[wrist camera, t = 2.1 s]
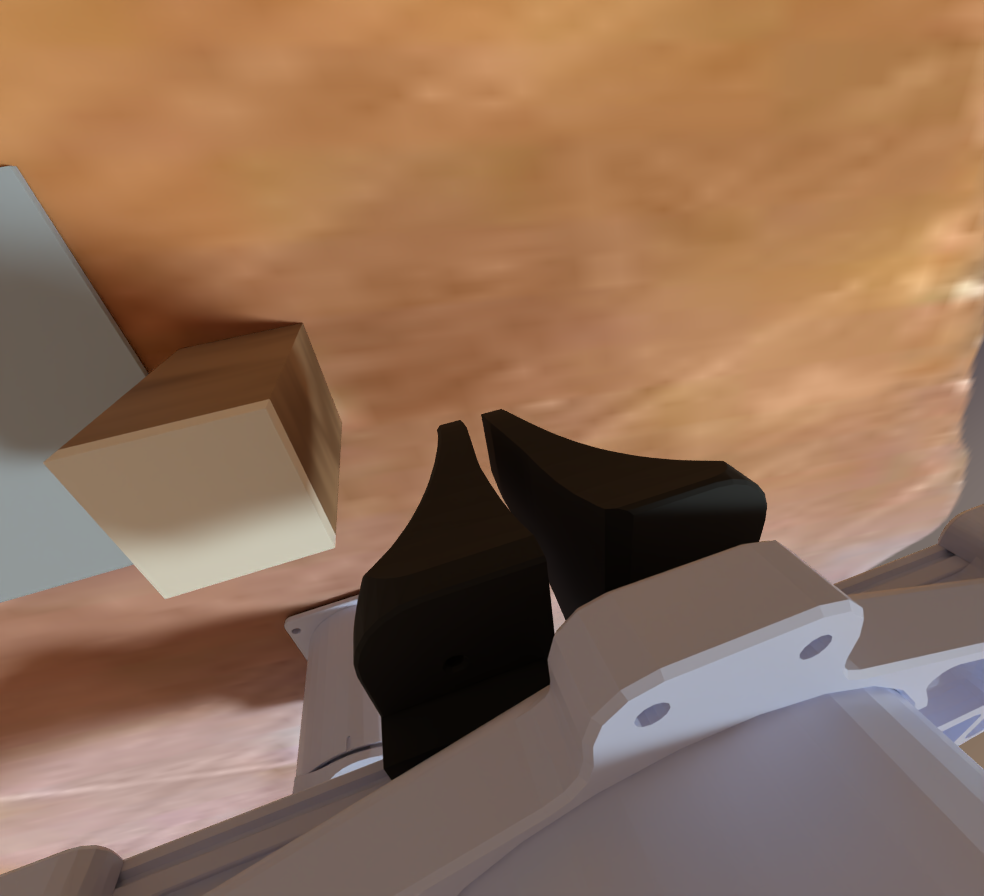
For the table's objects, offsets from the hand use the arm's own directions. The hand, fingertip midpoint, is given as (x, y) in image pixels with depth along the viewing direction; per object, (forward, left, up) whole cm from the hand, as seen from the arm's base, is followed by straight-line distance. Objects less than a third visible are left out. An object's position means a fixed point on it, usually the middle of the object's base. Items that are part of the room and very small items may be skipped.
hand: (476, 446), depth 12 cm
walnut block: (0, +8, -10) cm, 12 cm away
